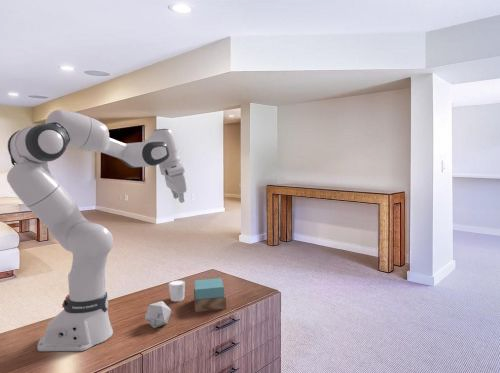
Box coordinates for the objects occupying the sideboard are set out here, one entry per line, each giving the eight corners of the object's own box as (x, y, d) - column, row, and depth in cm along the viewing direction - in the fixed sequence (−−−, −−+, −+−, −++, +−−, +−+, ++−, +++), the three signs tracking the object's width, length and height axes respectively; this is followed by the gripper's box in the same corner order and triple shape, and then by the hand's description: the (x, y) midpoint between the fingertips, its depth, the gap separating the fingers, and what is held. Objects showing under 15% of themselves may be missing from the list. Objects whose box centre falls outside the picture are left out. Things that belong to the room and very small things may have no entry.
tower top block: (195, 299, 139) (195, 289, 139) (195, 289, 150) (194, 280, 150) (224, 297, 141) (223, 287, 141) (221, 287, 152) (221, 278, 152)
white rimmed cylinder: (173, 303, 148) (173, 286, 147) (166, 298, 153) (165, 282, 152) (188, 299, 152) (188, 282, 151) (180, 294, 157) (180, 278, 157)
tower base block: (195, 312, 139) (194, 300, 139) (194, 301, 151) (193, 289, 150) (226, 309, 141) (225, 297, 141) (223, 298, 153) (222, 286, 153)
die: (140, 329, 127) (146, 313, 122) (146, 309, 134) (152, 293, 129) (163, 335, 128) (170, 319, 123) (168, 314, 136) (175, 299, 130)
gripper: (158, 167, 155) (166, 197, 158) (169, 172, 137) (177, 207, 140) (172, 163, 157) (180, 193, 161) (185, 168, 139) (193, 202, 143)
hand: (179, 200), depth 150 cm, fingers open, 8 cm apart
